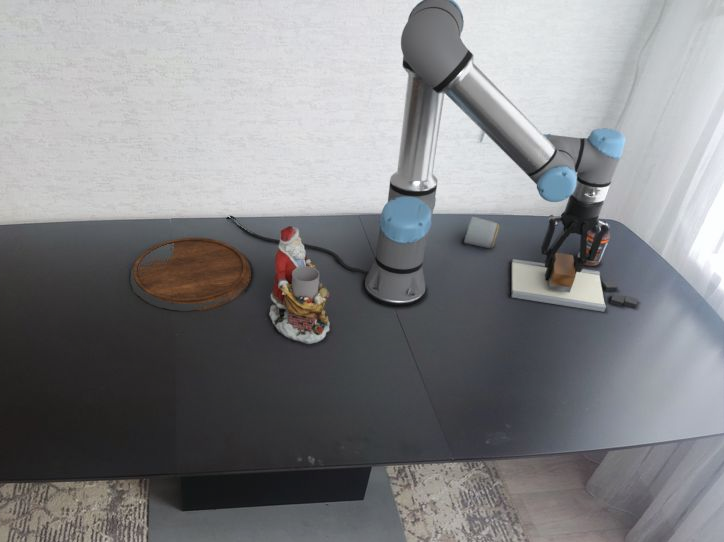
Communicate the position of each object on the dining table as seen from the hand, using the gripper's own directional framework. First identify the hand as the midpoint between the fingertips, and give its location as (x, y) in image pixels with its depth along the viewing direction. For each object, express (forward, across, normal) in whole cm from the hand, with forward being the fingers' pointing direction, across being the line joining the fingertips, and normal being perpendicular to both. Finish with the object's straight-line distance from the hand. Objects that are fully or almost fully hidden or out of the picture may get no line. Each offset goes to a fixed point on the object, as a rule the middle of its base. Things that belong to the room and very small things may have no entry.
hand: (558, 279), depth 169 cm
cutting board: (+2, -93, -22) cm, 95 cm away
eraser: (0, 0, 0) cm, 0 cm away
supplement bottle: (+2, +9, +15) cm, 18 cm away
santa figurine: (+2, -60, -34) cm, 69 cm away
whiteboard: (+2, 0, 0) cm, 2 cm away
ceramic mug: (+2, -20, +17) cm, 26 cm away
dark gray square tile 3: (+2, +17, -3) cm, 18 cm away
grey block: (+2, +14, -3) cm, 15 cm away
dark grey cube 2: (+2, +13, +3) cm, 14 cm away
